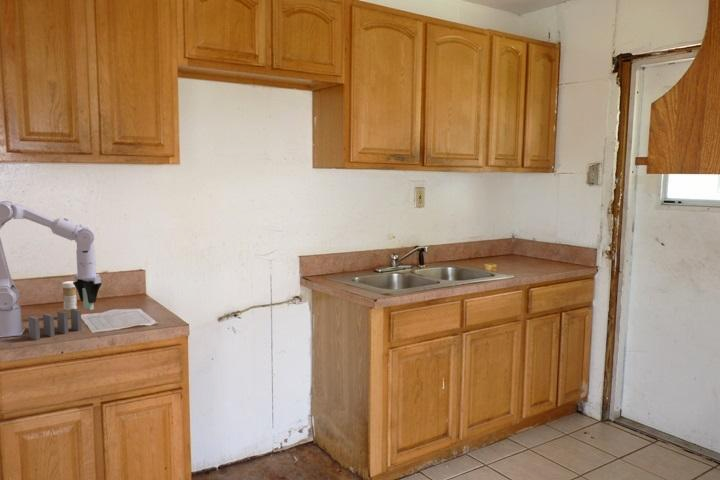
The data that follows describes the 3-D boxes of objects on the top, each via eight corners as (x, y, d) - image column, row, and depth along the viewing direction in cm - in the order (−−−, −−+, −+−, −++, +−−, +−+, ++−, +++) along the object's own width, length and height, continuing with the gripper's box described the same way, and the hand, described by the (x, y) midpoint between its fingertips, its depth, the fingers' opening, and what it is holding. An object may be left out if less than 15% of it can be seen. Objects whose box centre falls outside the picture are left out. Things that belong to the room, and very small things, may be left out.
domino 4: (78, 331, 190) (77, 311, 189) (71, 328, 192) (70, 309, 192) (81, 330, 190) (80, 310, 190) (74, 328, 193) (73, 308, 193)
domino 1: (36, 340, 179) (34, 318, 178) (29, 337, 182) (28, 316, 181) (40, 339, 180) (38, 318, 179) (33, 336, 183) (32, 315, 182)
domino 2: (50, 337, 182) (49, 316, 182) (44, 334, 185) (42, 314, 184) (54, 336, 183) (53, 315, 183) (47, 333, 186) (46, 313, 185)
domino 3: (64, 334, 186) (63, 313, 185) (57, 331, 189) (56, 311, 188) (68, 333, 187) (67, 312, 186) (61, 331, 190) (60, 310, 189)
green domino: (86, 307, 196) (85, 287, 196) (93, 309, 193) (92, 289, 193) (83, 307, 195) (82, 288, 195) (90, 309, 192) (89, 289, 192)
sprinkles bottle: (67, 316, 211) (65, 280, 209) (79, 315, 211) (77, 280, 210) (61, 319, 206) (59, 283, 205) (74, 318, 207) (72, 282, 205)
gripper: (108, 263, 192) (110, 302, 193) (86, 260, 200) (88, 297, 202) (88, 266, 186) (90, 306, 187) (66, 262, 195) (69, 300, 196)
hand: (88, 301), depth 194 cm, fingers closed on green domino, 5 cm apart
